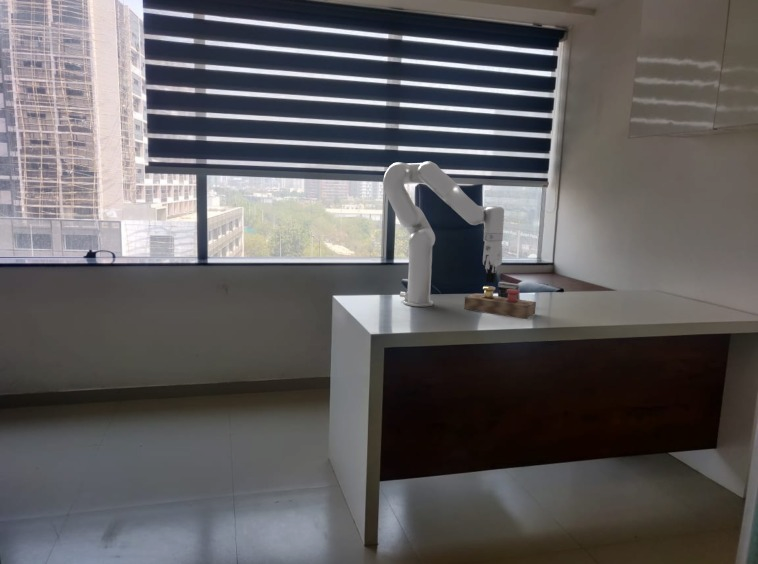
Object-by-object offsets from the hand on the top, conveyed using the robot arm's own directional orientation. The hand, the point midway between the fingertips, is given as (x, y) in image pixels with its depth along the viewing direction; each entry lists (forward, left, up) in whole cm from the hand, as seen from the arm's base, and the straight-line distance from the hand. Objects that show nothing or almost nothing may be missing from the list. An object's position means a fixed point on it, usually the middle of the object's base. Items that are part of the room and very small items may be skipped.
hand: (490, 282), depth 226 cm
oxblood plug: (+10, 0, -8) cm, 13 cm away
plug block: (+5, 0, -11) cm, 12 cm away
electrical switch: (+2, +19, -12) cm, 22 cm away
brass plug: (0, 0, -8) cm, 8 cm away
